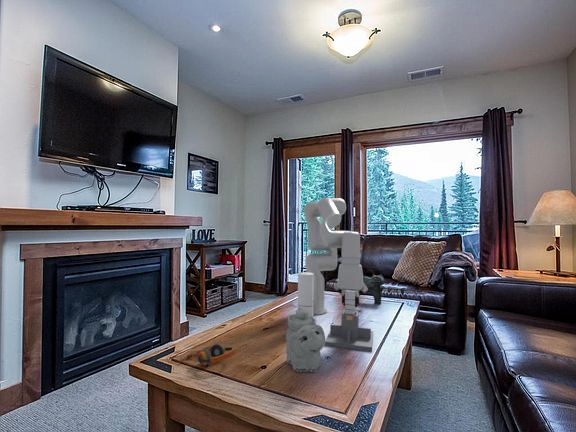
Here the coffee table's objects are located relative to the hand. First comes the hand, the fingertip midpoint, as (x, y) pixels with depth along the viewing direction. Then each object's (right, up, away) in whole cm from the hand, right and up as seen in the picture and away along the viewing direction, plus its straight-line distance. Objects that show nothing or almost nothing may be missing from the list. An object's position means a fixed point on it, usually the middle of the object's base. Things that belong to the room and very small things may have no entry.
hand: (350, 305), depth 128 cm
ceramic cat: (+23, -16, +62) cm, 68 cm away
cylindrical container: (-18, -15, +13) cm, 27 cm away
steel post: (0, -12, 0) cm, 12 cm away
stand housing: (0, -14, 0) cm, 14 cm away
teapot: (-20, -14, -26) cm, 35 cm away
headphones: (-53, -14, -21) cm, 59 cm away
